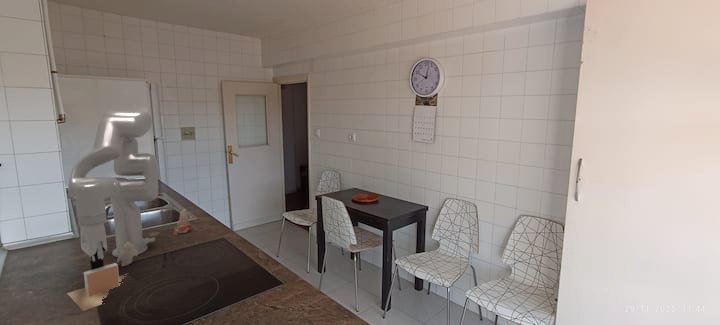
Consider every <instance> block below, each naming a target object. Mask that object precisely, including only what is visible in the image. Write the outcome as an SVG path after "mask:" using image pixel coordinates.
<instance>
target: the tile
mask: <svg viewBox="0 0 720 325" xmlns="http://www.w3.org/2000/svg"><path fill="white" fill-rule="evenodd" d="M119 276H120V274H119V265H118V264H117V262H114V263H110V264H107V265H104V266H103V267H100V268H97V269H93V270H91V269H90V270H87V271H83V278H84V279H83V280H84V288H85V289H86V295H87V296H88V297H90V296H93V295H96V294H99V293H101V292H104V291H107V290H110V289H113V288H115V287H118V286H120V284H119Z"/></svg>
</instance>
